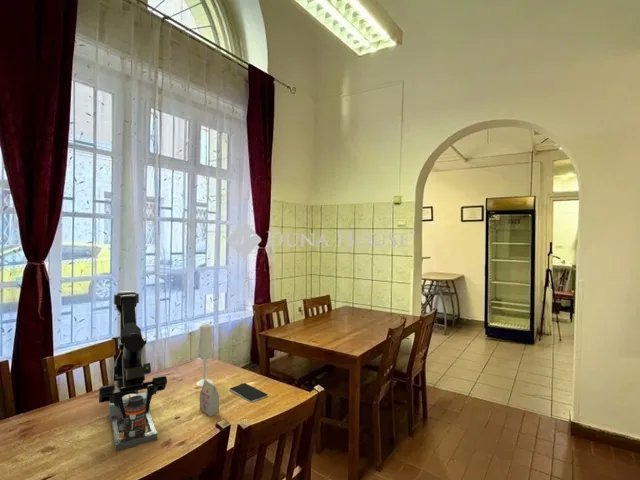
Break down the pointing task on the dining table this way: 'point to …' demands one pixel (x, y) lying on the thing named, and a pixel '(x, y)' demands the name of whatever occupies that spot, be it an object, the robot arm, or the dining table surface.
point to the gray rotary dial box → (114, 410)
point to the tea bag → (209, 399)
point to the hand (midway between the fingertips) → (135, 415)
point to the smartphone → (248, 392)
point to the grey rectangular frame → (135, 439)
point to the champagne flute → (205, 348)
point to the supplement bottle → (135, 417)
